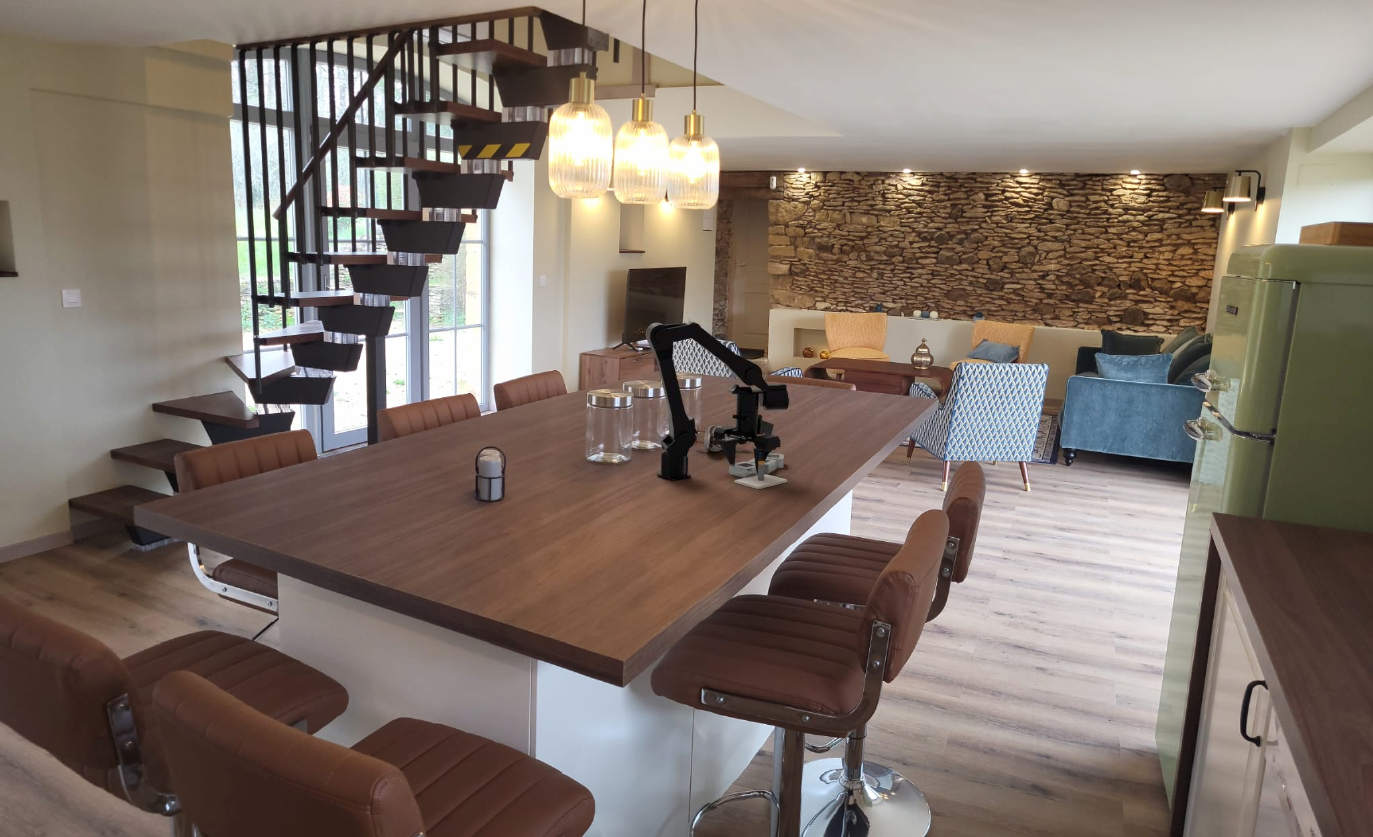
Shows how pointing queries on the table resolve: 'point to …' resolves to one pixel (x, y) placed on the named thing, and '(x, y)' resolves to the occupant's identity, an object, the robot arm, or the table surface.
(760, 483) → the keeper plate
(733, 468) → the end link
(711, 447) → the decorative duck model
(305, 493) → the table surface
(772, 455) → the grey square frame
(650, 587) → the table surface
